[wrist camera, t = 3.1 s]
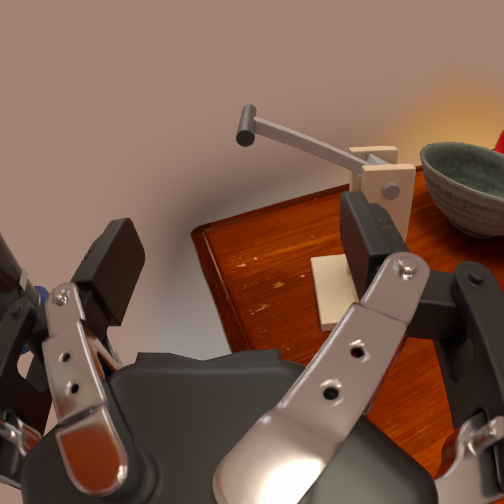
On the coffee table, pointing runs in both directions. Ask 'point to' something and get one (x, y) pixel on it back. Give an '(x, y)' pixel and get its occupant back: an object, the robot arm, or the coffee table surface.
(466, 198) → the bowl
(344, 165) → the grey t-shaped bar
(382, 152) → the bracket
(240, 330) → the coffee table surface
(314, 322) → the coffee table surface
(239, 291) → the coffee table surface
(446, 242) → the coffee table surface
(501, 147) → the toaster
